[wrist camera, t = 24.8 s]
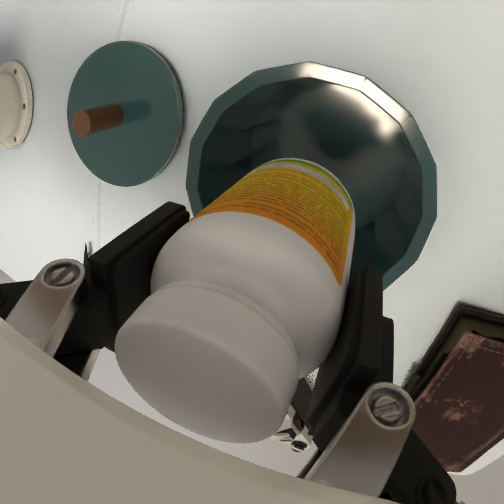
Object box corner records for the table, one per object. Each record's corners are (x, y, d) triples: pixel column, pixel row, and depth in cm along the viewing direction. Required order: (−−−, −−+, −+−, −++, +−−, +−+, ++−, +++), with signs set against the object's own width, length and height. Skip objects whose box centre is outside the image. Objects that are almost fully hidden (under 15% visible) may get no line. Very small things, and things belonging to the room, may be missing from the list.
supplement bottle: (226, 162, 14) (52, 279, 6) (350, 150, 12) (309, 293, 4) (248, 268, 16) (142, 429, 8) (358, 269, 14) (323, 472, 6)
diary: (568, 333, 22) (582, 363, 18) (463, 447, 35) (464, 474, 31) (450, 298, 26) (459, 334, 22) (360, 431, 39) (355, 461, 35)
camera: (230, 348, 38) (201, 409, 31) (285, 338, 34) (262, 407, 27) (281, 406, 43) (263, 460, 36) (331, 400, 39) (318, 460, 32)
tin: (232, 209, 29) (179, 262, 21) (260, 57, 22) (204, 45, 14) (379, 258, 27) (378, 333, 19) (433, 106, 19) (472, 118, 11)
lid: (74, 168, 33) (38, 184, 28) (79, 44, 25) (38, 46, 21) (178, 198, 30) (143, 222, 26) (197, 43, 23) (159, 37, 18)
